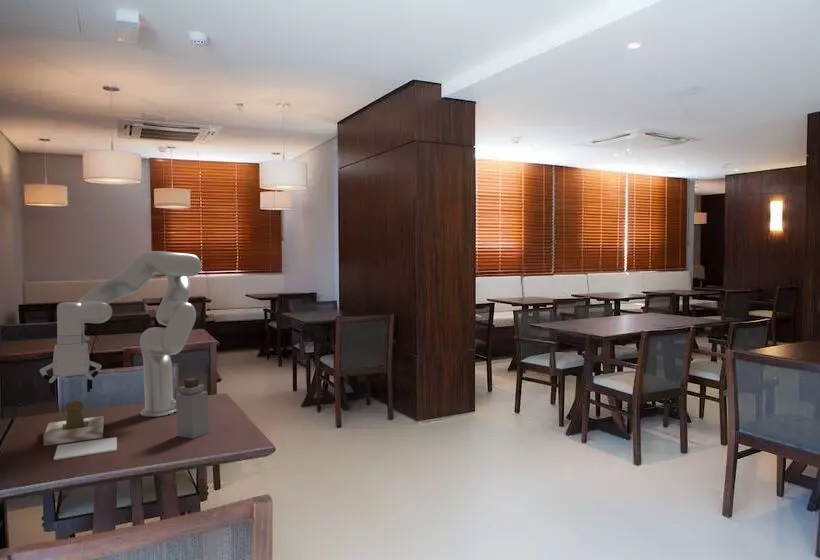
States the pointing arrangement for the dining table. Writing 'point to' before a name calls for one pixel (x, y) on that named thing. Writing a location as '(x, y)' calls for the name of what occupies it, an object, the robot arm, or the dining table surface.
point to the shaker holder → (74, 431)
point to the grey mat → (86, 448)
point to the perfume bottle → (192, 409)
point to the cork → (74, 415)
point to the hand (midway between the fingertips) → (71, 392)
